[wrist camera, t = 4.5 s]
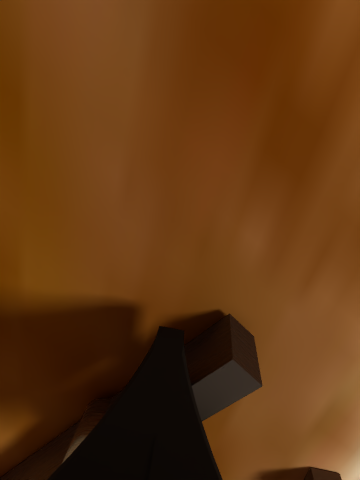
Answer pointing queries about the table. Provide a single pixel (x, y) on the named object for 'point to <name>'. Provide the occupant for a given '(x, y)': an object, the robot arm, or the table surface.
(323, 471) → the rail
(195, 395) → the bar
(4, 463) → the table surface
